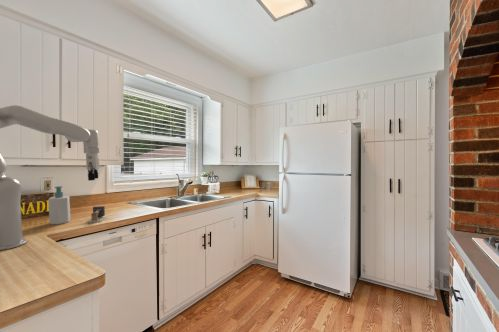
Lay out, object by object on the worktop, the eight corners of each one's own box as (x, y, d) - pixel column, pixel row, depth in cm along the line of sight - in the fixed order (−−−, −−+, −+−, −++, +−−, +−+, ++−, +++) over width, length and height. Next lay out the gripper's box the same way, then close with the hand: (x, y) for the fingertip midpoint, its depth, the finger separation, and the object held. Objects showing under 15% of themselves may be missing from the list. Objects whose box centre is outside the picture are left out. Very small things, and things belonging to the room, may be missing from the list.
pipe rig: (87, 222, 145) (87, 212, 145) (94, 218, 155) (94, 208, 154) (100, 221, 147) (100, 212, 146) (106, 217, 156) (106, 208, 156)
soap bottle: (67, 219, 153) (66, 185, 152) (73, 221, 148) (71, 186, 146) (47, 223, 145) (45, 186, 143) (52, 225, 139) (50, 188, 138)
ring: (93, 216, 151) (92, 207, 151) (94, 215, 153) (94, 206, 153) (103, 215, 153) (103, 206, 152) (104, 215, 155) (104, 206, 154)
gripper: (95, 150, 135) (97, 180, 136) (101, 150, 151) (103, 177, 152) (79, 151, 132) (82, 181, 133) (87, 150, 148) (89, 178, 149)
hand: (93, 179), depth 143 cm, fingers open, 9 cm apart
